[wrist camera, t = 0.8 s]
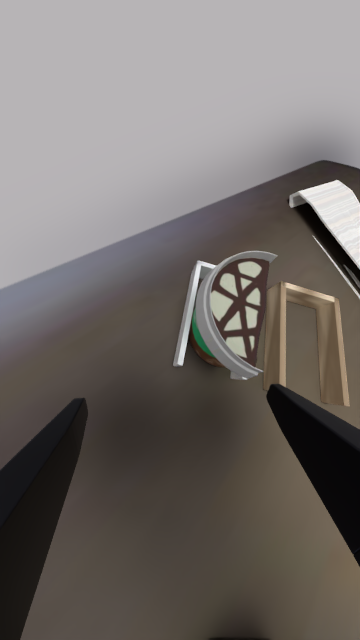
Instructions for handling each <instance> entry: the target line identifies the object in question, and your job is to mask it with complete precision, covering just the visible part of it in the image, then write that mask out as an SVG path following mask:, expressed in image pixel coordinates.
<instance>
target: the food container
mask: <svg viewBox="0 0 360 640" xmlns="http://www.w3.org/2000/svg"><path fill="white" fill-rule="evenodd" d="M276 257H277V255H275V254H272V253H268V252H263V251H248V252H243V253H239V254H237V255H234V256H231V257H229V258H227V259H225V260H224V261H223V262H221V263H220V264H219V265H217V266H216V267H215V268H214V269H212V270H211V271H210V272H209V273H208V274H207V275H206V277H205V278H204V280H203V281H202V283H201V285H200V287H199V290H198V293H197V298H196V307H195V309H194V311H193V313H192V318H191V324H190V329H189V334H188V338H189V341H190V344H191V346H192V348H193V349H194V351H195V352H196V353H197V355H198V356H199V357H200V358H202V359H203V360H204V361H206V362H207V363H209V364H211V365H214V366H217V367H224V368H228V369H229V370H231V371H232V372H234V373H236V374H237V375H240V376H242V377H244V378H247V379H248V378H251V377H254V376H257V375H258V373H259V372H263V371H262V370H260V369H258V368H255V367H256V361H257V348H258V342H259V336H260V331H261V327H262V322H263V318H264V313H265V308H266V285H267V277H268V270H269V264H270V263H271V262H272V261H273V260H274V259H275V258H276Z"/></svg>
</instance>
